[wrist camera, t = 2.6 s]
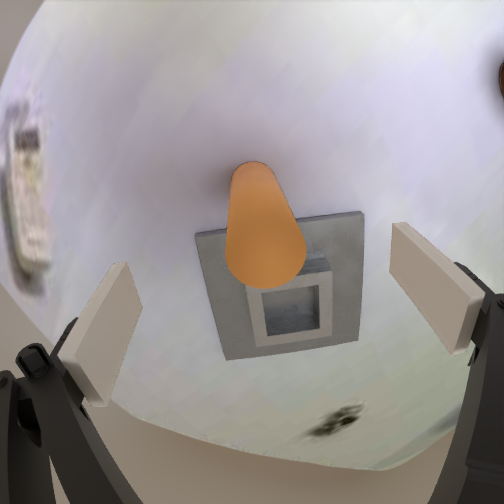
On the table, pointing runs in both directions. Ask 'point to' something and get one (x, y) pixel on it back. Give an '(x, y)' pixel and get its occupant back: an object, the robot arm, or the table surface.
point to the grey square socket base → (291, 292)
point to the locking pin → (261, 230)
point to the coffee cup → (502, 78)
